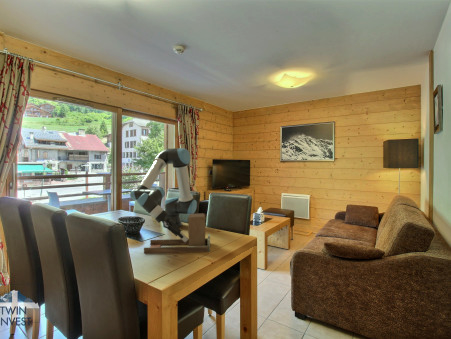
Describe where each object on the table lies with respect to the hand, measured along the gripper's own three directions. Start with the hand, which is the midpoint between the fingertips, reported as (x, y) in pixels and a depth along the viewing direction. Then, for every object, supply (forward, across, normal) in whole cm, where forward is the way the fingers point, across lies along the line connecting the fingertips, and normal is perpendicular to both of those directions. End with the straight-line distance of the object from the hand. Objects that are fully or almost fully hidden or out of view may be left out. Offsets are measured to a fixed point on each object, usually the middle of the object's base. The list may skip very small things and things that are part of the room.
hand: (186, 240), depth 149 cm
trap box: (0, 0, -7) cm, 7 cm away
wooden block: (+8, -2, +1) cm, 8 cm away
